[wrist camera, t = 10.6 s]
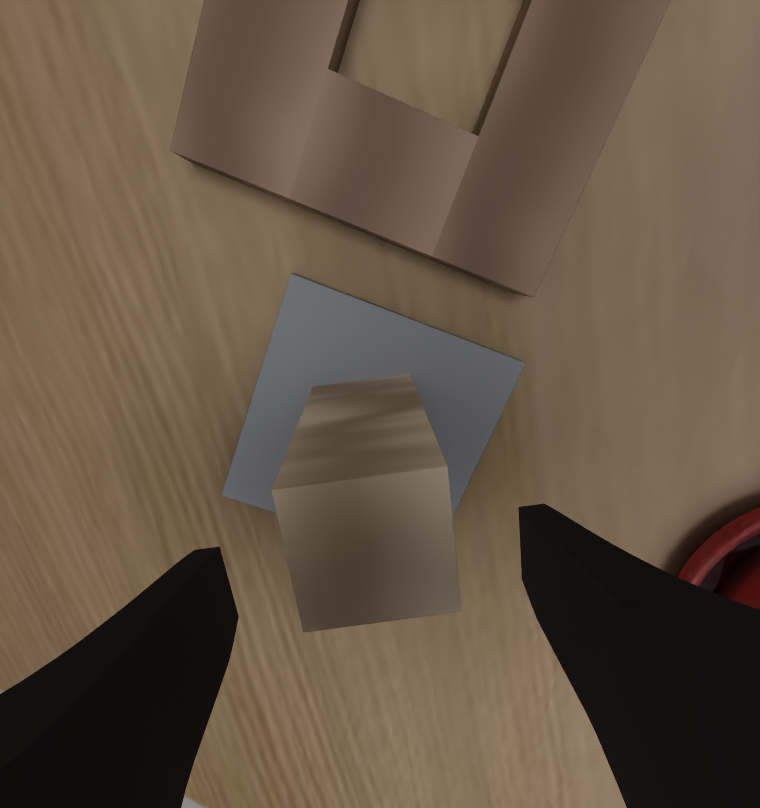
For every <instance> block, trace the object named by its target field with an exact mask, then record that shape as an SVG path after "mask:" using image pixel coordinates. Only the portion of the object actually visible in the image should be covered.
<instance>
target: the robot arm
mask: <svg viewBox="0 0 760 808" xmlns="http://www.w3.org/2000/svg"><path fill="white" fill-rule="evenodd" d="M519 526H520V547H521V568H522V580H523V583H524V586H525V589H526V591H527V594H528V597H529V600H530V602H531V605H532V607H533V610H534V612H535V615H536V618H537V620H538V622H539V624H540V626H541V628H542V630H543V631H544V633H545V635H546V637H547V639H548V641H549V643H550V645H551V647H552V649H553V651H554V653H555V654H556V656H557V658H558V660H559V662H560V664H561V666H562V668H563V670H564V671H565V673H566V675H567V677H568V679H569V681H570V683H571V685H572V687H573V688H574V690H575V692H576V694H577V696H578V698H579V700H580V702H581V704H582V706H583V707H584V709H585V711H586V713H587V715H588V717H589V720H590V722H591V724H592V726H593V728H594V730H595V732H596V734H597V737H598V739H599V741H600V744H601V746H602V748H603V751H604V753H605V756H606V758H607V760H608V763H609V765H610V768H611V770H612V772H613V775H614V777H615V780H616V782H617V784H618V787H619V789H620V792H621V794H622V797H623V799H624V802H625V804H626V807H627V808H760V610H759V609H756V608H753V607H751V606H748V605H745V604H742V603H739V602H736V601H734V600H731V599H728V598H726V597H723V596H721V595H718V594H716V593H713V592H711V591H708V590H706V589H703V588H701V587H699V586H696V585H694V584H692V583H690V582H687V581H685V580H683V579H680V578H678V577H676V576H673V575H671V574H669V573H667V572H665V571H663V570H661V569H659V568H657V567H655V566H653V565H651V564H649V563H647V562H645V561H643V560H641V559H639V558H637V557H635V556H633V555H631V554H629V553H628V552H626V551H624V550H622V549H620V548H618V547H617V546H615V545H613V544H611V543H610V542H608V541H606V540H604V539H603V538H601V537H599V536H598V535H596V534H594V533H592V532H591V531H589V530H587V529H586V528H584V527H583V526H581V525H579V524H578V523H576V522H574V521H573V520H571V519H569V518H568V517H566V516H565V515H563V514H561V513H560V512H558V511H556V510H555V509H553V508H551V507H549V506H548V505H546V504H538V505H531V506H523V507H519ZM238 617H239V616H238V613H237V609H236V605H235V601H234V598H233V594H232V590H231V587H230V583H229V579H228V576H227V572H226V568H225V565H224V561H223V557H222V554H221V550H220V547H214V548H206V549H199V550H194V551H193V552H191V553H190V554H188V555H187V556H186V557H184V558H183V559H182V560H180V561H179V562H178V563H177V564H175V565H174V566H173V567H172V568H171V569H169V570H168V571H167V572H166V573H165V574H163V575H162V576H161V577H160V578H159V579H157V580H156V581H155V582H154V583H153V584H151V585H150V586H149V587H148V588H147V589H145V590H144V591H143V592H142V593H141V594H139V595H138V596H137V597H136V598H135V599H133V600H132V601H131V602H130V603H128V604H127V605H126V606H125V607H124V608H122V609H121V610H120V611H118V612H117V613H116V614H115V615H113V616H112V617H111V618H109V619H108V620H107V621H106V622H104V623H103V624H102V625H100V626H99V627H98V628H97V629H95V630H94V631H93V632H91V633H90V634H89V635H88V636H86V637H85V638H84V639H82V640H81V641H80V642H78V643H77V644H75V645H74V646H73V647H71V648H70V649H69V650H67V651H66V652H64V653H63V654H61V655H60V656H59V657H57V658H56V659H54V660H53V661H51V662H50V663H48V664H47V665H45V666H44V667H42V668H41V669H39V670H38V671H36V672H35V673H33V674H32V675H30V676H29V677H27V678H26V679H24V680H23V681H21V682H20V683H18V684H16V685H15V686H13V687H11V688H10V689H8V690H6V691H5V692H3V693H1V694H0V808H181V806H182V801H183V798H184V794H185V790H186V786H187V783H188V780H189V776H190V773H191V770H192V767H193V763H194V760H195V757H196V755H197V752H198V749H199V746H200V743H201V740H202V737H203V735H204V732H205V729H206V726H207V723H208V720H209V718H210V715H211V712H212V709H213V706H214V703H215V700H216V698H217V695H218V692H219V689H220V686H221V683H222V680H223V677H224V674H225V671H226V668H227V665H228V662H229V659H230V655H231V651H232V646H233V642H234V637H235V632H236V627H237V622H238Z"/></svg>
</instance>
